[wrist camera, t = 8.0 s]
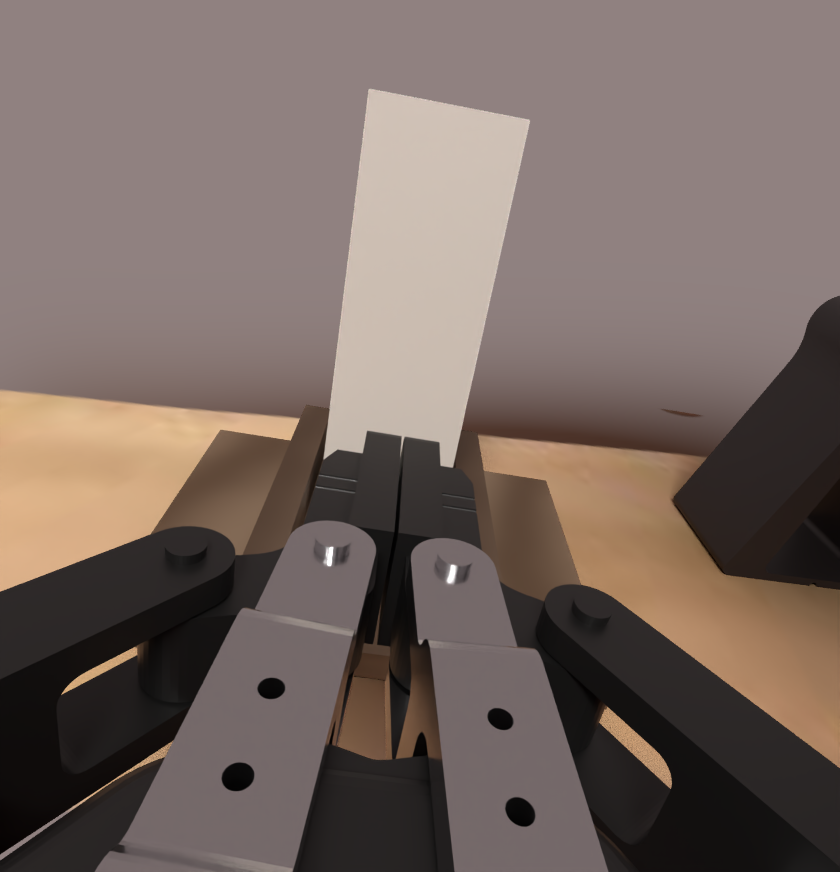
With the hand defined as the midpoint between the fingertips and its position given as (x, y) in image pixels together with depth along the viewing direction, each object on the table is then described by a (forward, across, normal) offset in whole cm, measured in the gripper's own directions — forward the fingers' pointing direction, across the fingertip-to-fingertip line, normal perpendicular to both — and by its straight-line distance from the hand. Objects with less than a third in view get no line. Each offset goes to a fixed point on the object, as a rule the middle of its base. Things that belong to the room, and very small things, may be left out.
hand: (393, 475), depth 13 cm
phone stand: (+15, -20, +9) cm, 27 cm away
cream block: (+13, 0, +8) cm, 15 cm away
